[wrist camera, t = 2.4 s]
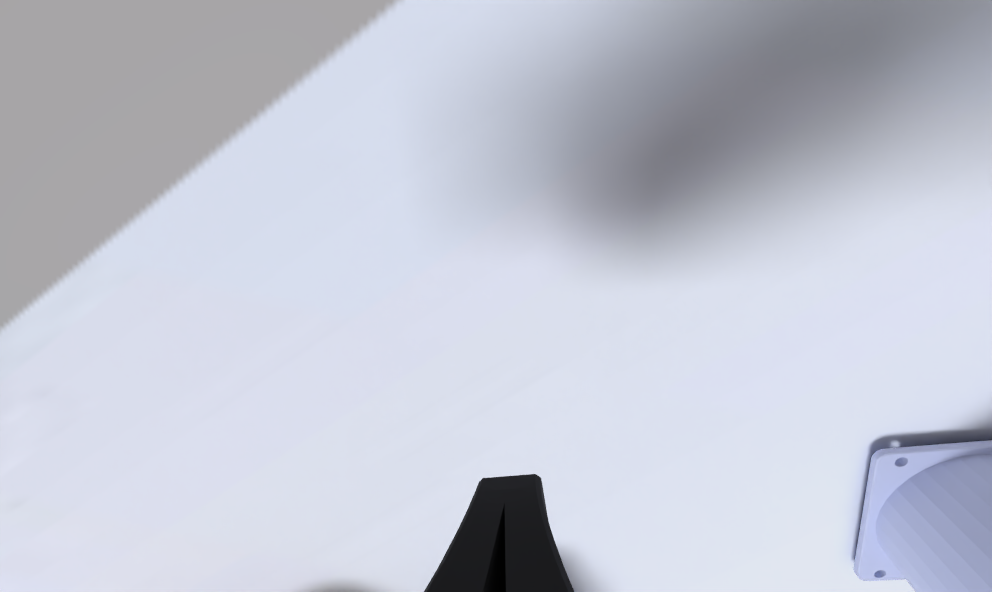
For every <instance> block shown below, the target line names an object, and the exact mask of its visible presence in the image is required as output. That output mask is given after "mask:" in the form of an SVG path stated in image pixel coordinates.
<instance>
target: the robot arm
mask: <svg viewBox="0 0 992 592" xmlns="http://www.w3.org/2000/svg"><path fill="white" fill-rule="evenodd" d="M898 458H899V459H898ZM897 459H898V460H897ZM854 572H855V573H856V575H857V576H858V578H859V579H861V580H864V581H877V580H899V579H906V580H907V581H908V583H909V584H910V585H911V586H912V588H913V589H914V590H915V591H916V592H992V440H988V441H976V442H963V443H950V444H937V445H924V446H911V447H898V448H885V449H880V450H878V451H876V452H875V453H874V454H873V455H872V458H871V463H870V469H869V475H868V482H867V488H866V494H865V500H864V507H863V513H862V519H861V525H860V531H859V538H858V544H857V550H856V556H855V563H854ZM424 592H574V590H573V588H572V585H571V583H570V581H569V578H568V576H567V573H566V571H565V568H564V566H563V563H562V561H561V558H560V555H559V552H558V549H557V547H556V544H555V541H554V538H553V535H552V532H551V529H550V526H549V522H548V517H547V511H546V505H545V499H544V493H543V487H542V481H541V478H540V477H539V476H537V475H536V474H531V475H519V476H506V477H493V478H483V479H482V480H481V481H480V482H479V484H478V486H477V489H476V491H475V494H474V496H473V498H472V501H471V503H470V505H469V508H468V510H467V512H466V514H465V516H464V518H463V520H462V523H461V525H460V527H459V529H458V531H457V533H456V535H455V537H454V539H453V541H452V543H451V544H450V546H449V548H448V550H447V552H446V554H445V556H444V558H443V560H442V562H441V563H440V565H439V567H438V569H437V571H436V572H435V574H434V576H433V577H432V579H431V581H430V583H429V584H428V586H427V588H426V589H425V591H424Z"/></svg>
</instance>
